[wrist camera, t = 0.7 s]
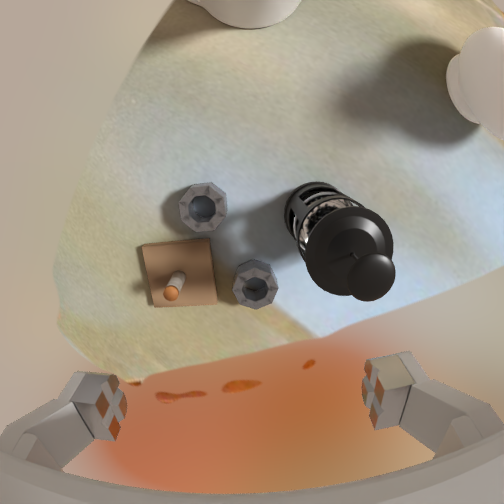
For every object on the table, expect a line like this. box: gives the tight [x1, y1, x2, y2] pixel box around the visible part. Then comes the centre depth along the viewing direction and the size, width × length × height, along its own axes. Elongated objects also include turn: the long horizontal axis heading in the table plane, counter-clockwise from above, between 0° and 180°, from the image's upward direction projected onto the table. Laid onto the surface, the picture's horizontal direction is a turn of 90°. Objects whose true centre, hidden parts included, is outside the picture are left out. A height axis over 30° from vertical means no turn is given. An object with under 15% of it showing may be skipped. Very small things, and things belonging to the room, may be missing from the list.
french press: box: [284, 182, 395, 301], centre depth 35 cm, size 12×9×23 cm
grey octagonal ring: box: [232, 259, 278, 309], centre depth 47 cm, size 6×6×4 cm
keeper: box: [142, 238, 218, 307], centre depth 45 cm, size 10×10×8 cm
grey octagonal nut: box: [179, 182, 227, 232], centre depth 43 cm, size 6×6×4 cm
